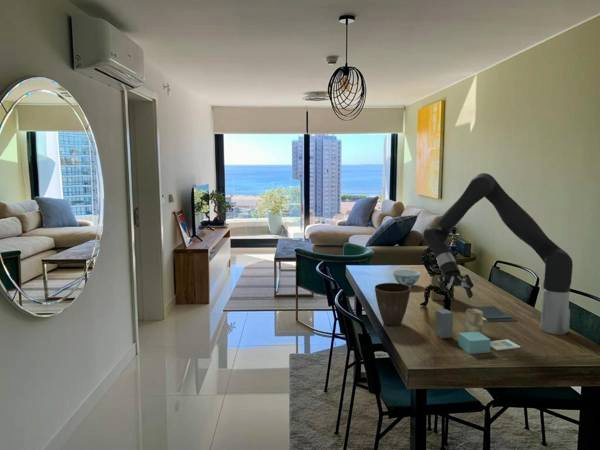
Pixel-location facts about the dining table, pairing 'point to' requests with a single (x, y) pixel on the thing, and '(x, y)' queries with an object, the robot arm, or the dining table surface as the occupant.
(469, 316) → the maple block
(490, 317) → the dark blue-grey book
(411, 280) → the chinaware
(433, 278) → the wooden block
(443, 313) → the charcoal block
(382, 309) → the plant pot
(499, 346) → the card
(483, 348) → the teal base block
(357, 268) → the dining table surface
